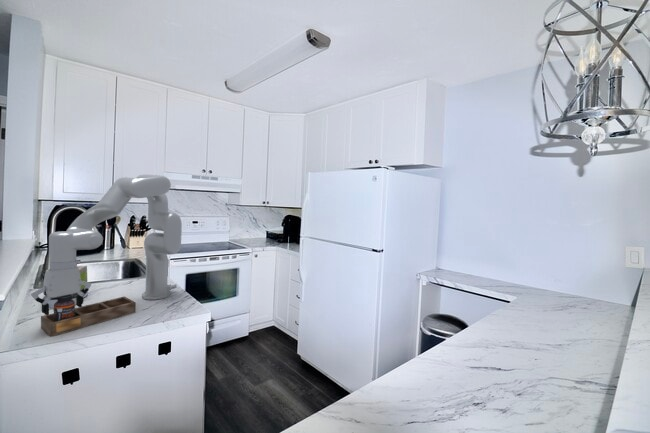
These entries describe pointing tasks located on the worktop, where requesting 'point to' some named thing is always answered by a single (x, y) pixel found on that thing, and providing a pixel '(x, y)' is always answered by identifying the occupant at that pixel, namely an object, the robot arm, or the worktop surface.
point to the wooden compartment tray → (89, 315)
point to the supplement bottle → (64, 308)
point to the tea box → (83, 278)
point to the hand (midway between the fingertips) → (63, 309)
